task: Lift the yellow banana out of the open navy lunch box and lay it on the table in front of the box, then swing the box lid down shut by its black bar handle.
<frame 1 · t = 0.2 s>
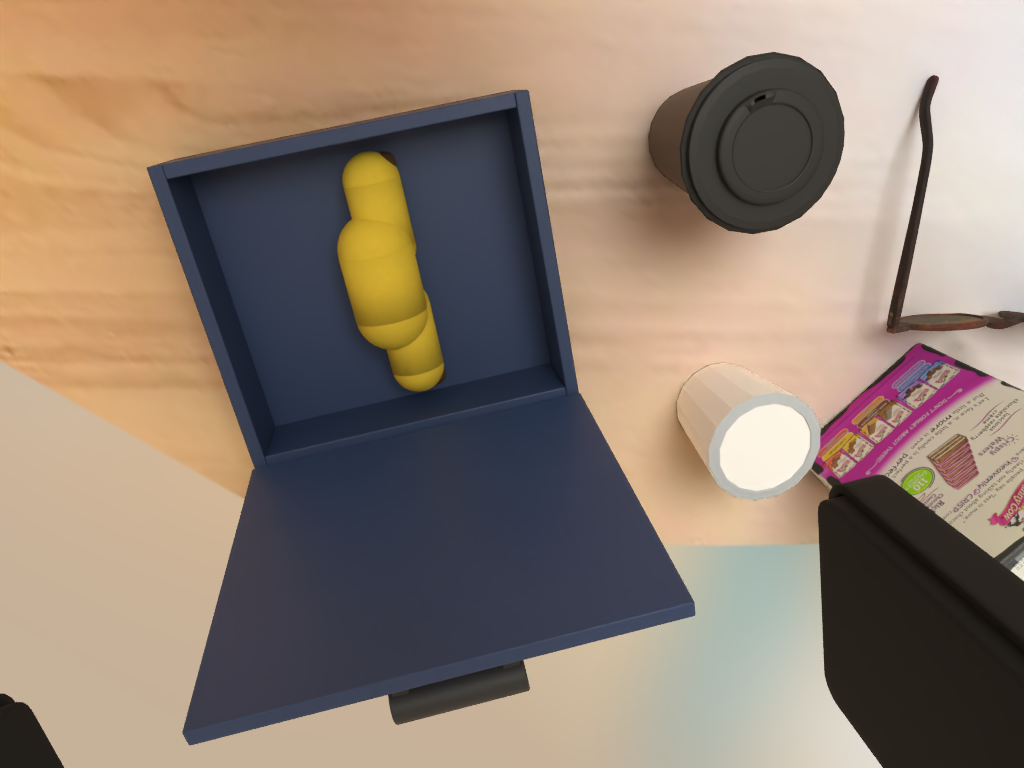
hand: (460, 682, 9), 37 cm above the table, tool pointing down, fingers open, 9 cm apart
coffee cup: (692, 136, 44), on the table
eyeglasses: (990, 206, 48), on the table
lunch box: (384, 271, 44), on the table
banana: (384, 274, 43), point 1 cm above the table, touching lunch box
candy bar box: (872, 417, 52), on the table
shot glass: (716, 401, 50), on the table
lid: (439, 562, 35), point 14 cm above the table, hinge at 95.0°
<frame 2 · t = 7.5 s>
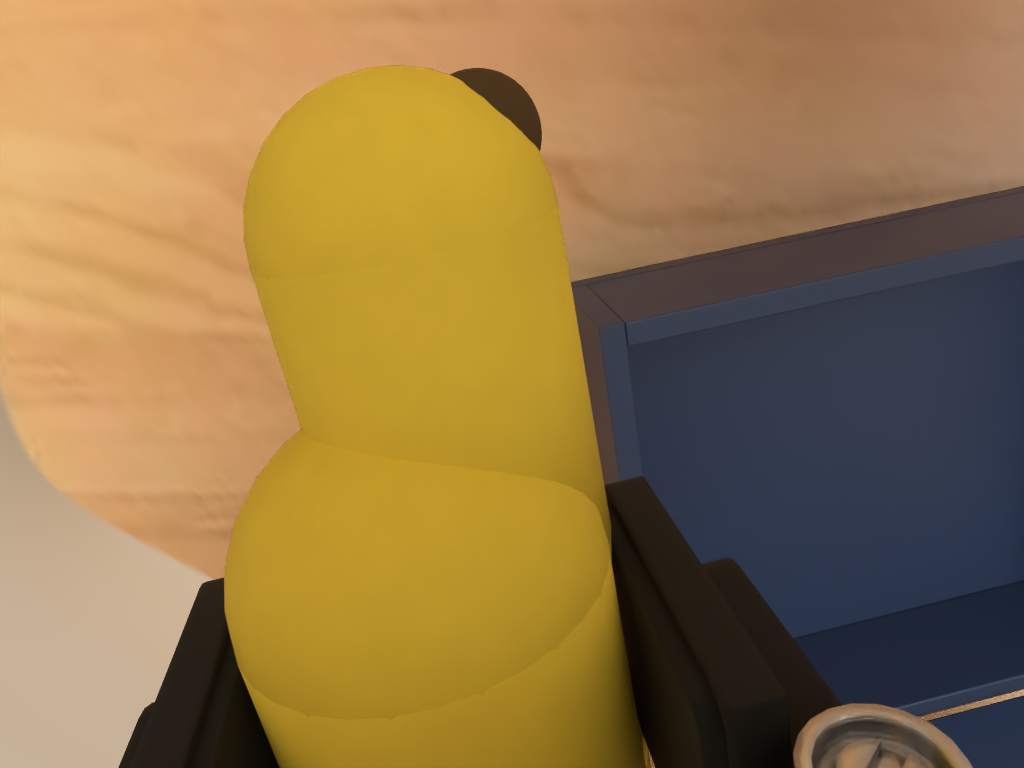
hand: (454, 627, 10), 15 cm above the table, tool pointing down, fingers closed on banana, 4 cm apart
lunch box: (838, 448, 28), on the table
banana: (444, 597, 11), point 14 cm above the table, touching gripper
when the fingers open (1 cm above the table, at t = 11.1 s): banana stays where it is, on the table.
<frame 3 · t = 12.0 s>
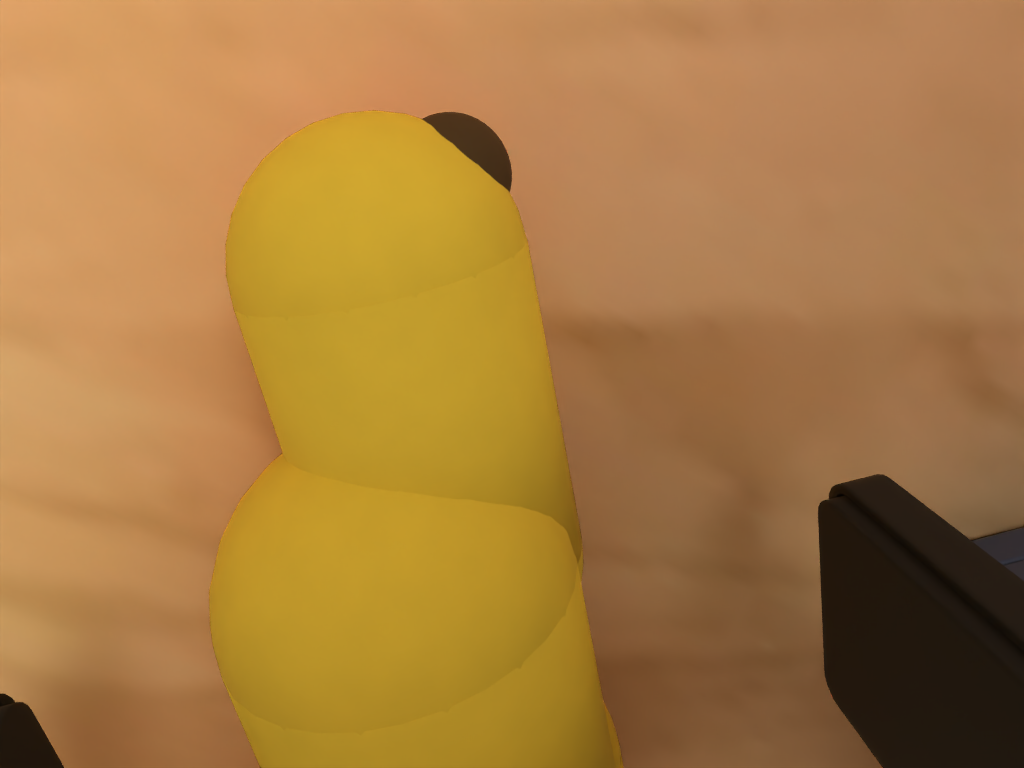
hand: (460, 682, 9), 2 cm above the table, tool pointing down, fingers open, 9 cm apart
banana: (428, 606, 11), on the table
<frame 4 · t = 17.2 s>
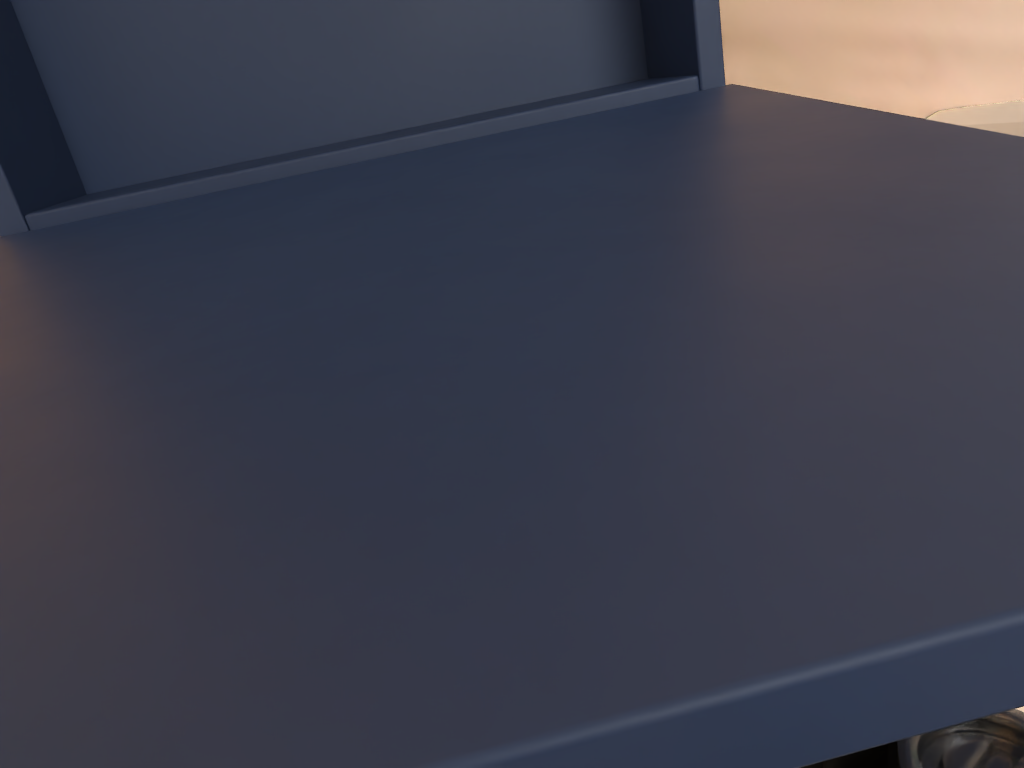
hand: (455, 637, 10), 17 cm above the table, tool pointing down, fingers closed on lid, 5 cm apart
shot glass: (943, 190, 27), on the table
lid: (411, 396, 12), point 14 cm above the table, hinge at 95.0°, touching gripper
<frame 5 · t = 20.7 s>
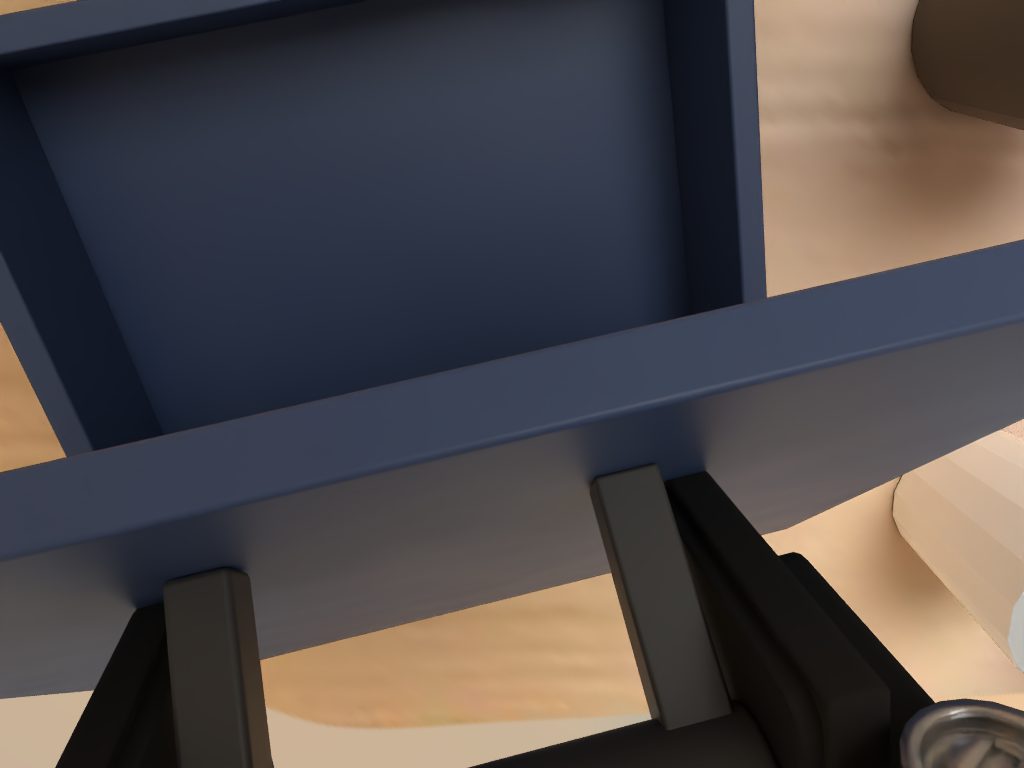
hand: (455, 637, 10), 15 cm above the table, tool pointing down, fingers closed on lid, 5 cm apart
coffee cup: (988, 21, 23), on the table
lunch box: (409, 274, 23), on the table
shot glass: (955, 487, 30), on the table
lid: (481, 671, 13), point 13 cm above the table, hinge at 46.7°, touching gripper
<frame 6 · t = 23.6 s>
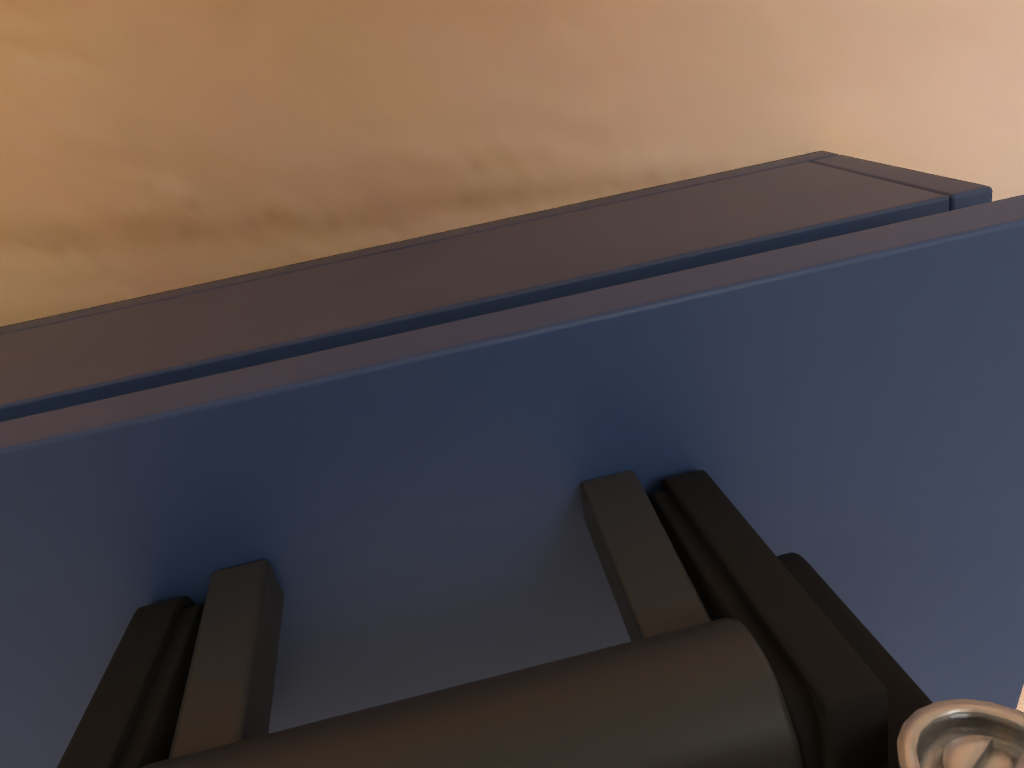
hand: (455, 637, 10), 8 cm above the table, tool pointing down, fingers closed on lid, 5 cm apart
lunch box: (471, 567, 19), on the table
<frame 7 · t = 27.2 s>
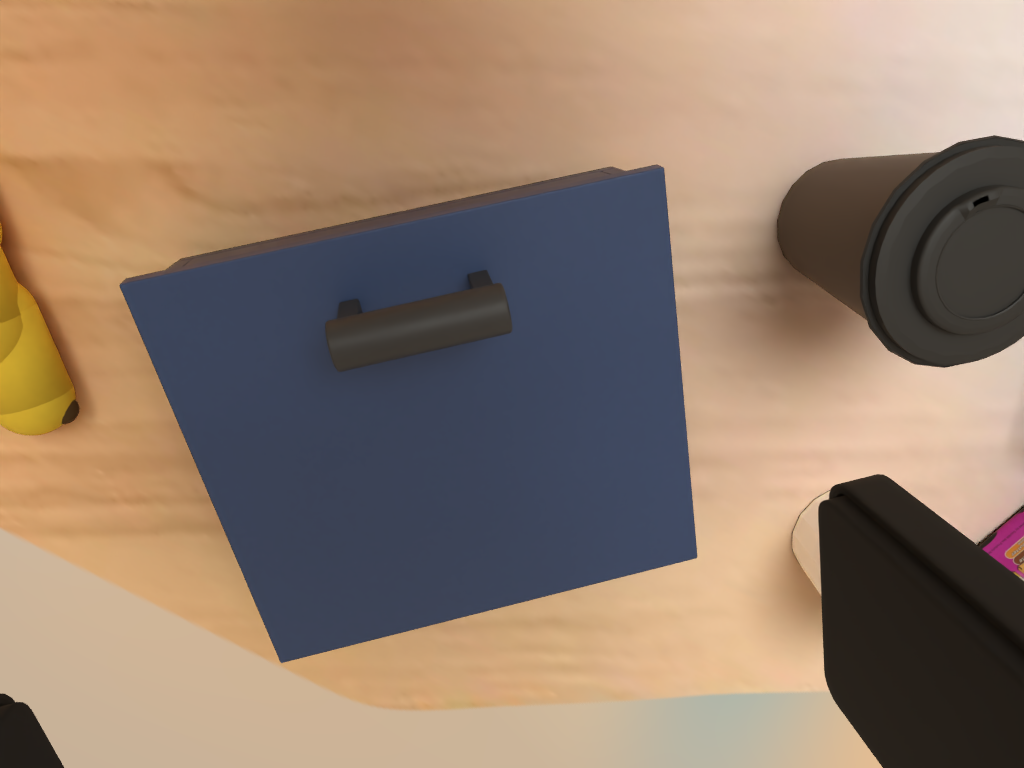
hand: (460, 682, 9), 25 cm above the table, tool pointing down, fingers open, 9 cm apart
coffee cup: (830, 219, 35), on the table
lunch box: (443, 389, 35), on the table
candy bar box: (1021, 542, 43), on the table
shot glass: (838, 529, 41), on the table
lid: (455, 464, 27), point 8 cm above the table, hinge at 4.0°
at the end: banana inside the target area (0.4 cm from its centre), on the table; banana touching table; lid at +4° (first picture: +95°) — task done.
